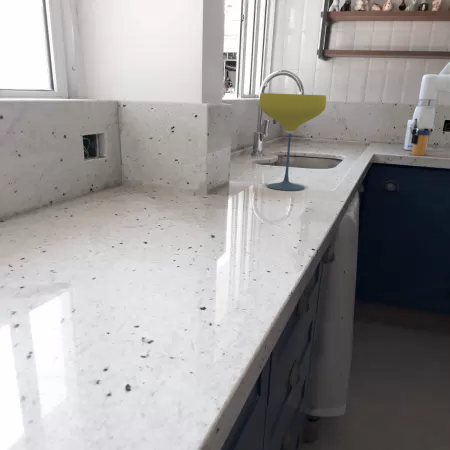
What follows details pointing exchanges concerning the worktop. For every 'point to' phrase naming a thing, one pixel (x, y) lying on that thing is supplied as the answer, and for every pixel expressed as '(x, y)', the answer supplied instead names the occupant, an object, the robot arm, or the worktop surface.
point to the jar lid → (424, 132)
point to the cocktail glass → (291, 120)
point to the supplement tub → (408, 137)
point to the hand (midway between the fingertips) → (419, 143)
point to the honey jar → (420, 145)
